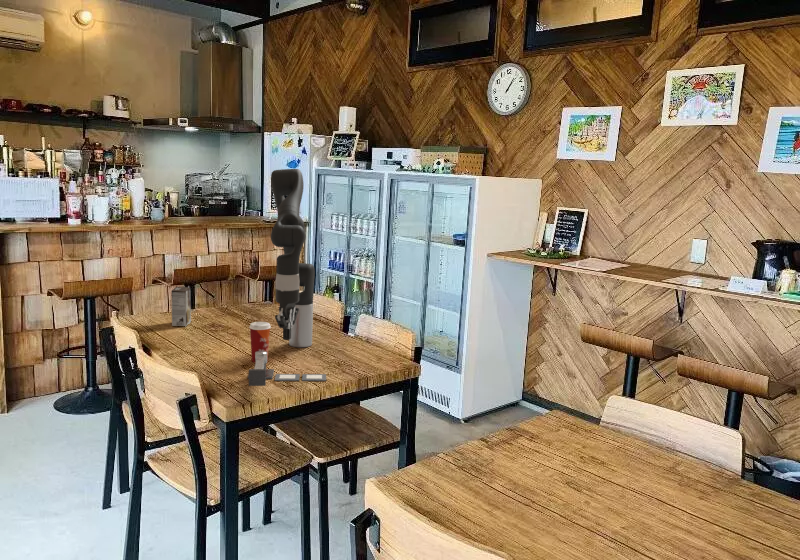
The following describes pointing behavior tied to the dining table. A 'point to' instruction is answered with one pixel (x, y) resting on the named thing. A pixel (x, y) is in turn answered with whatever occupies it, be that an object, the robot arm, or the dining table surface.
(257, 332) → the paper cup
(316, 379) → the label tile
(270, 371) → the pivot post
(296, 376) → the label tile
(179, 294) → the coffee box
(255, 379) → the swing arm
